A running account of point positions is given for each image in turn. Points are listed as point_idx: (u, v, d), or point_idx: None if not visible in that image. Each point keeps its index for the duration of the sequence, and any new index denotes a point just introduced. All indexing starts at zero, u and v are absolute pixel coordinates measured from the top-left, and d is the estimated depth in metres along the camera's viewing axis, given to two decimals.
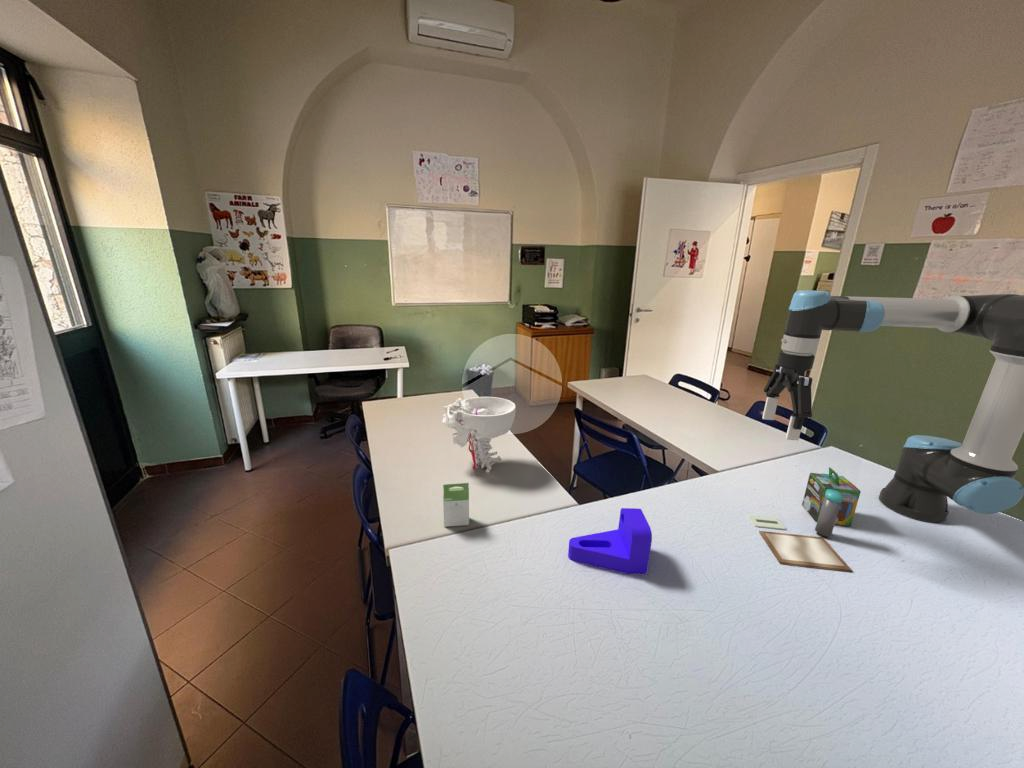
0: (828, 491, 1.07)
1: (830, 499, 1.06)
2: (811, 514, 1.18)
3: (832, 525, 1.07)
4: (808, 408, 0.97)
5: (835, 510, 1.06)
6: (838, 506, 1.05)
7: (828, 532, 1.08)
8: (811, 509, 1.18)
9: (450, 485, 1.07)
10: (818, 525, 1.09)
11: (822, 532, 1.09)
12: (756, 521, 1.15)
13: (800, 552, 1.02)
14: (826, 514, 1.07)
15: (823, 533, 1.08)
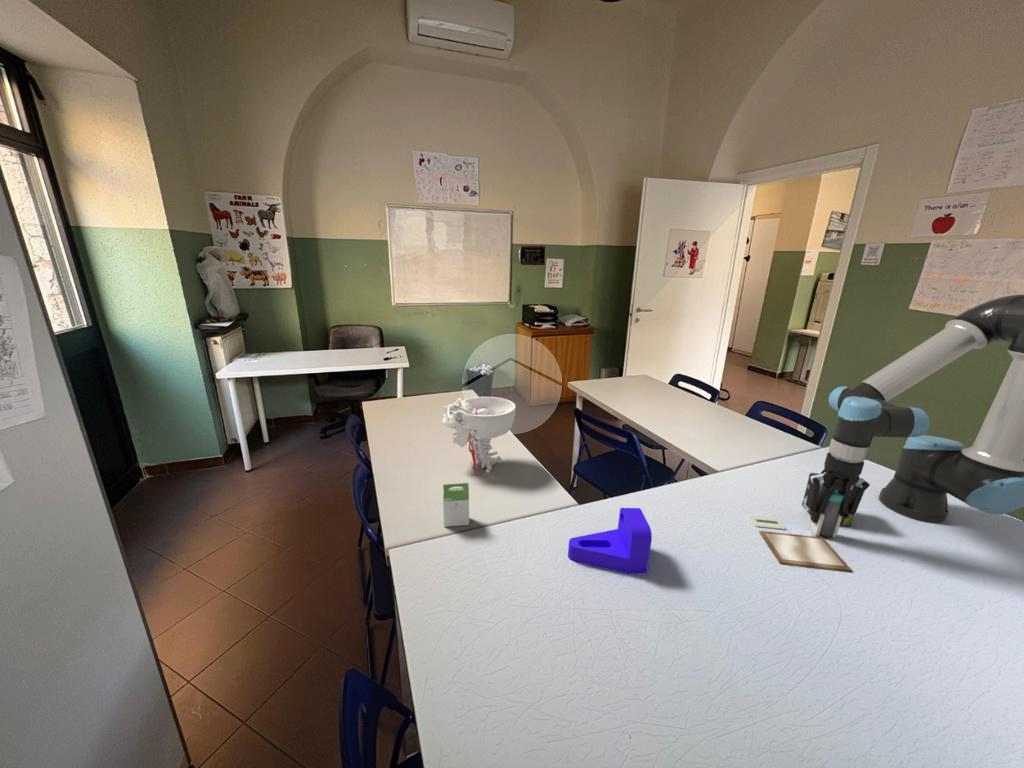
0: None
1: (830, 499, 1.06)
2: (811, 514, 1.18)
3: (832, 525, 1.07)
4: (810, 502, 1.08)
5: (835, 510, 1.06)
6: (838, 506, 1.05)
7: (828, 532, 1.08)
8: None
9: (450, 485, 1.07)
10: None
11: (822, 532, 1.09)
12: (756, 521, 1.15)
13: (800, 552, 1.02)
14: (826, 513, 1.07)
15: (823, 533, 1.08)
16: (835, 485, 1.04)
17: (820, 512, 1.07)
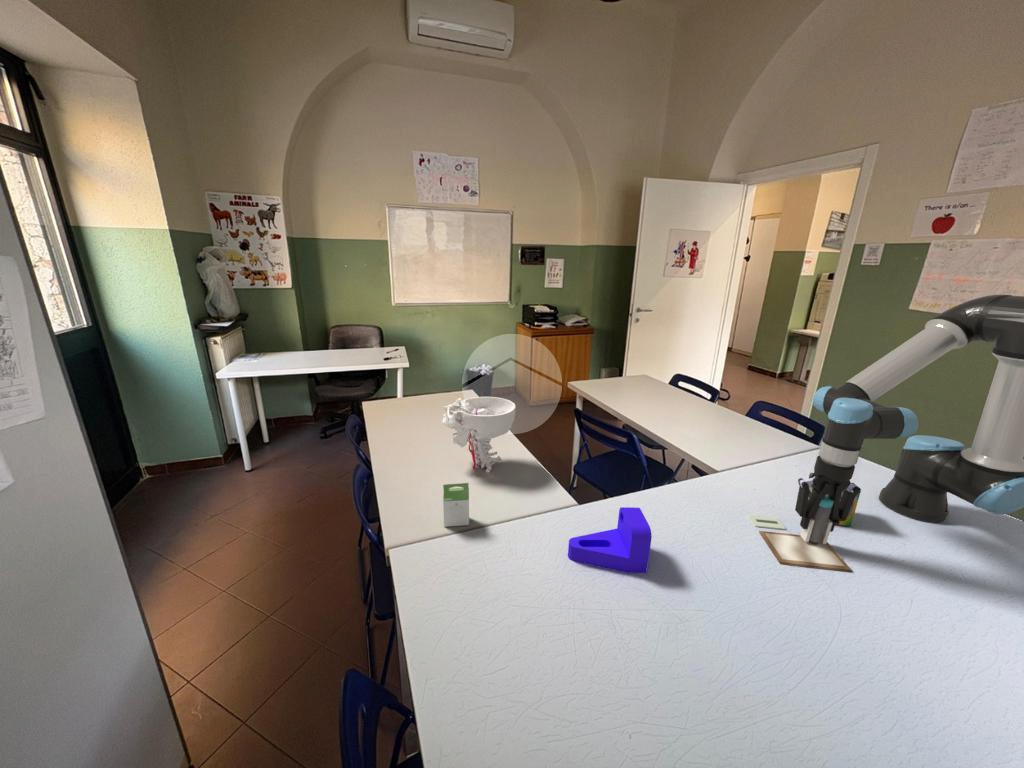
0: None
1: (820, 504, 1.02)
2: None
3: (822, 531, 1.03)
4: (799, 507, 1.04)
5: (825, 515, 1.02)
6: (828, 511, 1.02)
7: (818, 538, 1.04)
8: None
9: (450, 485, 1.07)
10: None
11: (812, 538, 1.05)
12: (756, 521, 1.15)
13: (800, 552, 1.02)
14: (816, 519, 1.03)
15: (813, 539, 1.04)
16: (825, 490, 1.00)
17: (810, 518, 1.03)
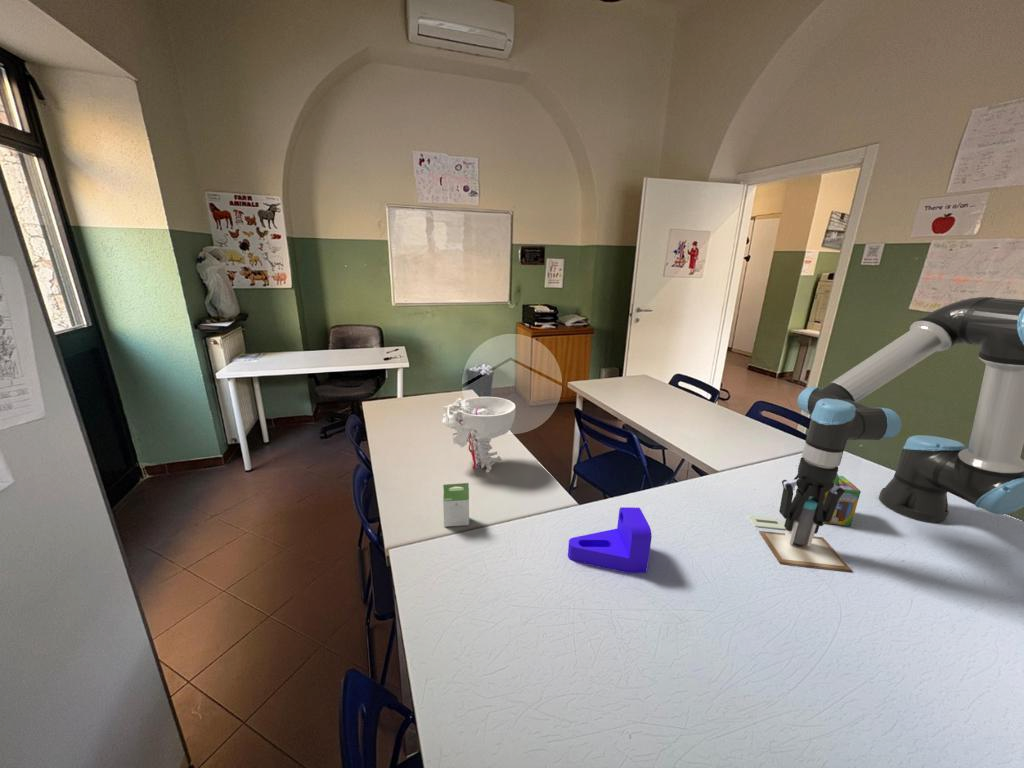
0: None
1: (804, 505, 1.01)
2: None
3: (806, 533, 1.03)
4: (783, 509, 1.03)
5: (809, 517, 1.01)
6: (812, 513, 1.01)
7: (802, 540, 1.03)
8: None
9: (450, 485, 1.07)
10: None
11: (796, 540, 1.04)
12: (756, 521, 1.15)
13: (800, 552, 1.02)
14: (800, 521, 1.02)
15: (797, 541, 1.04)
16: (808, 491, 0.99)
17: (794, 519, 1.02)
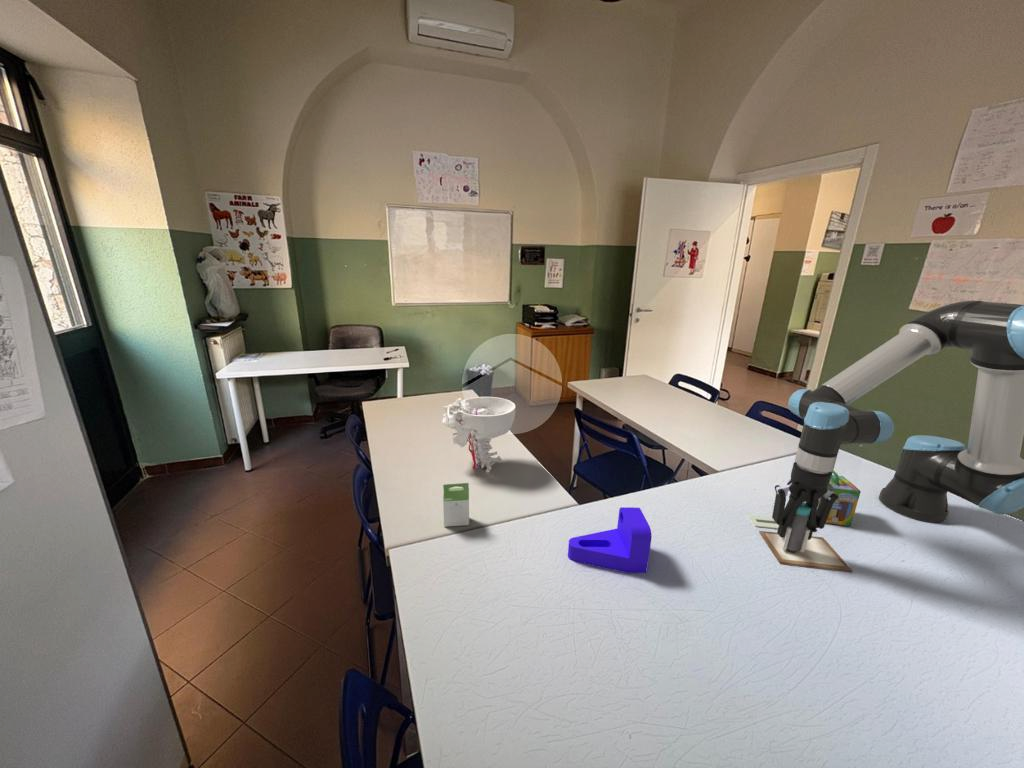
0: None
1: (797, 511, 0.99)
2: None
3: (800, 539, 1.00)
4: (776, 515, 1.00)
5: (802, 523, 0.99)
6: (805, 519, 0.98)
7: (796, 547, 1.01)
8: None
9: (450, 485, 1.07)
10: None
11: (789, 547, 1.01)
12: (756, 521, 1.15)
13: (800, 552, 1.02)
14: (793, 527, 1.00)
15: (790, 548, 1.01)
16: (802, 497, 0.97)
17: (787, 526, 1.00)
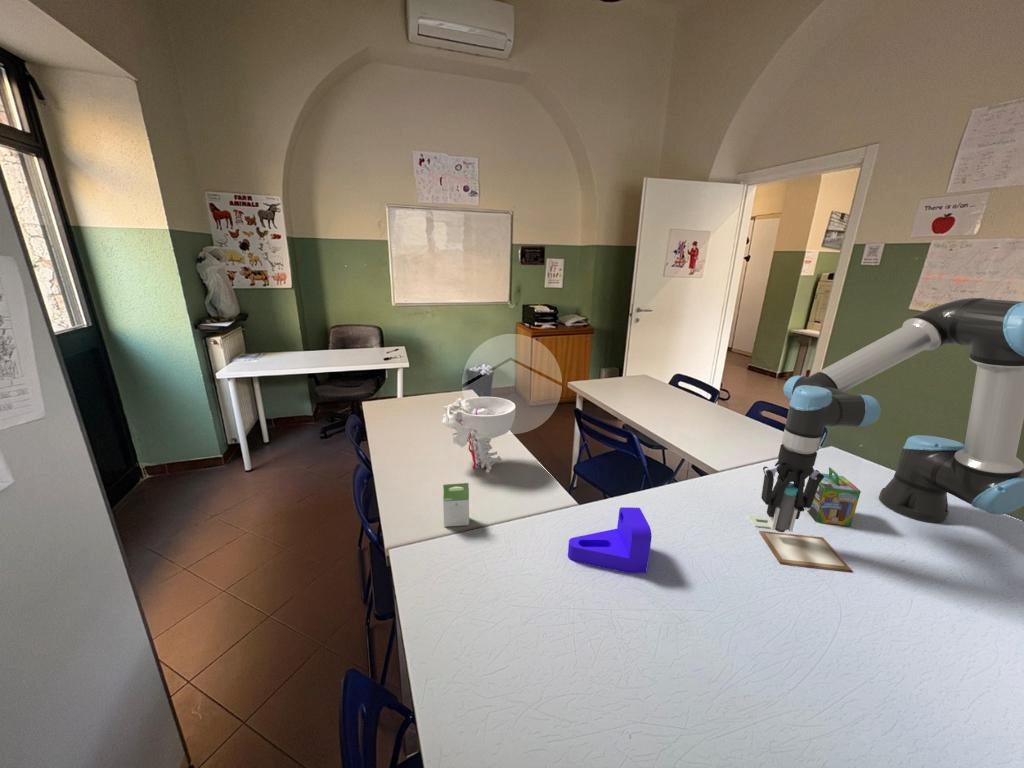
0: None
1: (784, 491, 1.02)
2: (811, 514, 1.18)
3: (788, 519, 1.04)
4: (764, 496, 1.04)
5: (789, 503, 1.02)
6: (793, 499, 1.02)
7: (784, 526, 1.05)
8: (811, 509, 1.18)
9: (450, 485, 1.07)
10: None
11: (778, 526, 1.05)
12: (756, 521, 1.15)
13: (800, 552, 1.02)
14: (781, 507, 1.04)
15: (779, 527, 1.05)
16: (789, 477, 1.01)
17: (775, 505, 1.04)
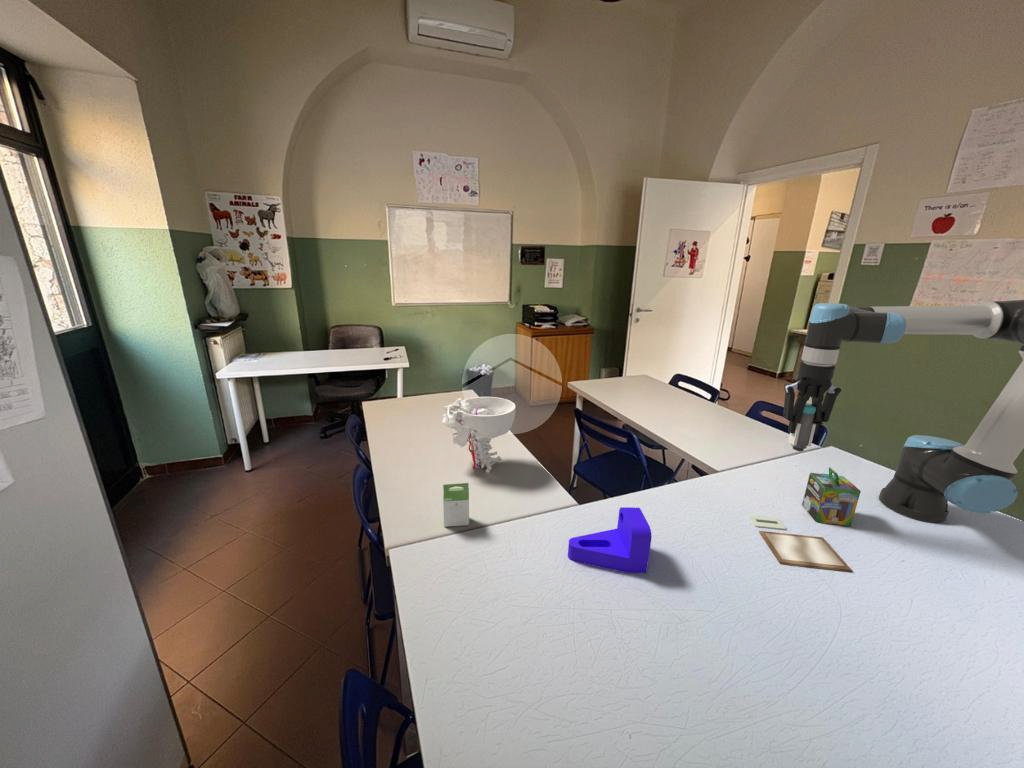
0: None
1: (803, 411, 1.09)
2: (811, 514, 1.18)
3: (807, 437, 1.11)
4: (786, 412, 1.10)
5: (808, 421, 1.09)
6: (811, 417, 1.09)
7: (803, 445, 1.11)
8: (811, 509, 1.18)
9: (450, 485, 1.07)
10: None
11: (797, 445, 1.12)
12: (756, 521, 1.15)
13: (800, 552, 1.02)
14: None
15: (798, 446, 1.12)
16: (809, 392, 1.07)
17: (796, 421, 1.10)
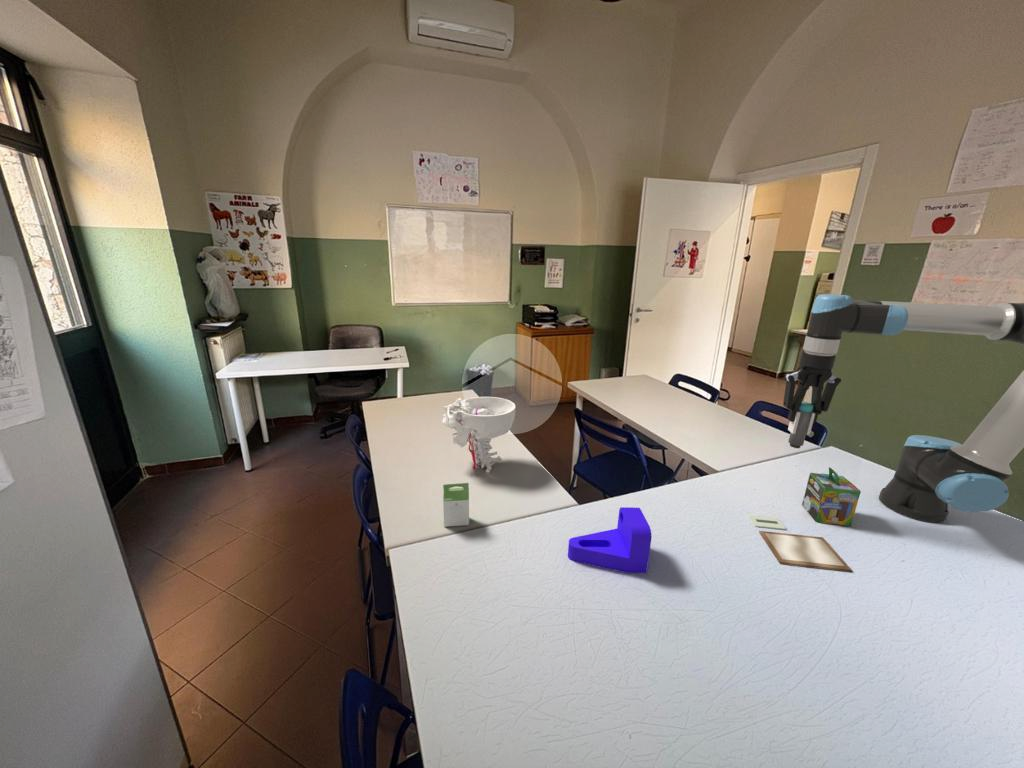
0: None
1: (801, 409, 1.13)
2: (811, 514, 1.18)
3: (803, 435, 1.14)
4: (786, 401, 1.13)
5: (805, 419, 1.13)
6: (808, 415, 1.12)
7: (800, 442, 1.15)
8: (811, 509, 1.18)
9: (450, 485, 1.07)
10: (791, 436, 1.16)
11: (794, 442, 1.16)
12: (756, 521, 1.15)
13: (800, 552, 1.02)
14: None
15: (795, 443, 1.15)
16: (809, 381, 1.10)
17: (796, 410, 1.13)
